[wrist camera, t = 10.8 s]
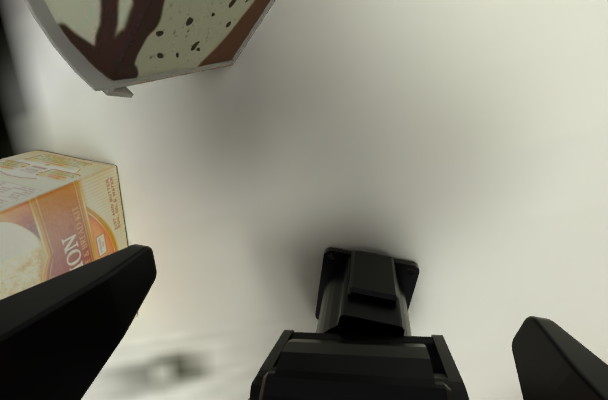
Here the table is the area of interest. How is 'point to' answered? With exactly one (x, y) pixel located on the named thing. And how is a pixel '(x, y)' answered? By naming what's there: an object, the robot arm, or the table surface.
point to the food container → (146, 37)
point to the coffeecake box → (55, 217)
